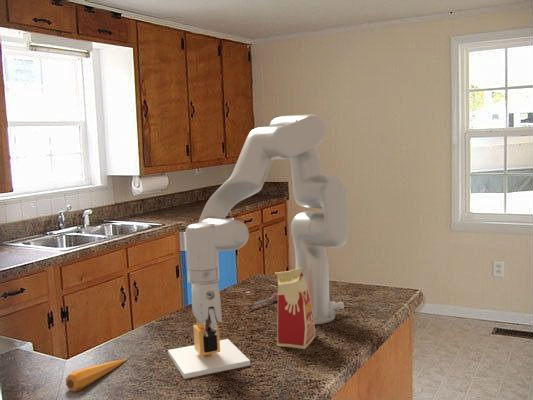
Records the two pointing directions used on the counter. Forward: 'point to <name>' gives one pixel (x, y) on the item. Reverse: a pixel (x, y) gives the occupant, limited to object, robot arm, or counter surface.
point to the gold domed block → (200, 341)
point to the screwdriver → (274, 298)
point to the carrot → (90, 375)
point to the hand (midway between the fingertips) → (207, 346)
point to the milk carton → (294, 311)
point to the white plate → (207, 360)
